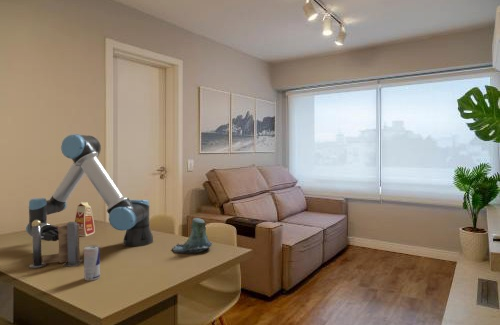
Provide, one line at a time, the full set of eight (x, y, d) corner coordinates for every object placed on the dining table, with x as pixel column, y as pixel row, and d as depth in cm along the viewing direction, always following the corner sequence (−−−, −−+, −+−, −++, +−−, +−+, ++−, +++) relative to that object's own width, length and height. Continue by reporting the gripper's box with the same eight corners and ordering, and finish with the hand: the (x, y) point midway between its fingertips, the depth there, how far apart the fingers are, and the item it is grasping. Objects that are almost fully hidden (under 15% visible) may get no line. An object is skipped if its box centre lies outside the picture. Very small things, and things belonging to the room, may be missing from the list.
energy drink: (102, 275, 130) (101, 245, 130) (96, 280, 125) (95, 249, 124) (88, 275, 130) (87, 245, 129) (81, 281, 124) (81, 249, 124)
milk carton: (86, 236, 193) (85, 202, 192) (72, 235, 195) (71, 201, 194) (96, 232, 202) (95, 199, 201) (82, 232, 204) (82, 199, 203)
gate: (43, 265, 142) (42, 228, 141) (43, 263, 144) (42, 227, 143) (79, 259, 149) (78, 224, 148) (79, 258, 151) (78, 223, 150)
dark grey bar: (62, 266, 141) (61, 224, 140) (68, 262, 147) (67, 221, 146) (78, 265, 142) (77, 223, 141) (82, 261, 148) (81, 221, 147)
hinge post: (49, 263, 145) (47, 218, 144) (39, 268, 139) (38, 221, 138) (35, 263, 145) (34, 218, 144) (25, 268, 139) (24, 221, 138)
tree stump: (189, 242, 179) (196, 211, 177) (217, 257, 168) (225, 224, 166) (163, 249, 163) (171, 214, 161) (192, 266, 153) (200, 229, 151)
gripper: (60, 236, 168) (85, 244, 155) (32, 242, 158) (55, 251, 144) (60, 222, 168) (85, 228, 154) (31, 226, 157) (55, 234, 144)
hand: (70, 239), depth 149 cm, fingers closed
